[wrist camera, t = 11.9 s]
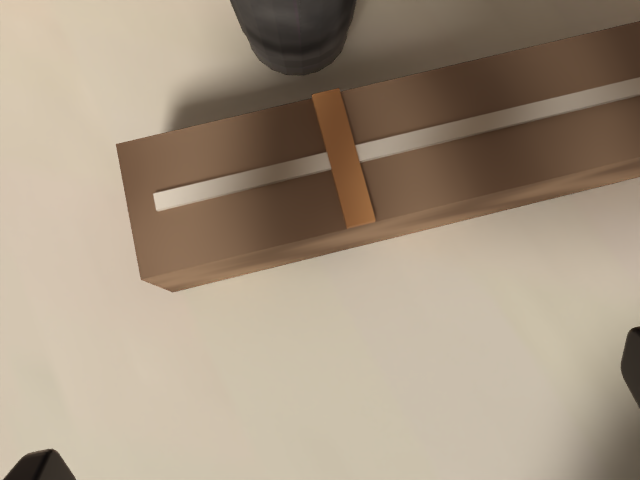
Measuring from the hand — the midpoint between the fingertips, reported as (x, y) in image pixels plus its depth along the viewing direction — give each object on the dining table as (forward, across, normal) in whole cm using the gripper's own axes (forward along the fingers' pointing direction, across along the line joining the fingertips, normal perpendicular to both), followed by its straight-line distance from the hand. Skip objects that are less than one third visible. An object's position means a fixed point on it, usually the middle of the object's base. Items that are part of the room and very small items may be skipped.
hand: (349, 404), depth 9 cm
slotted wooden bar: (+15, -7, +4) cm, 17 cm away
